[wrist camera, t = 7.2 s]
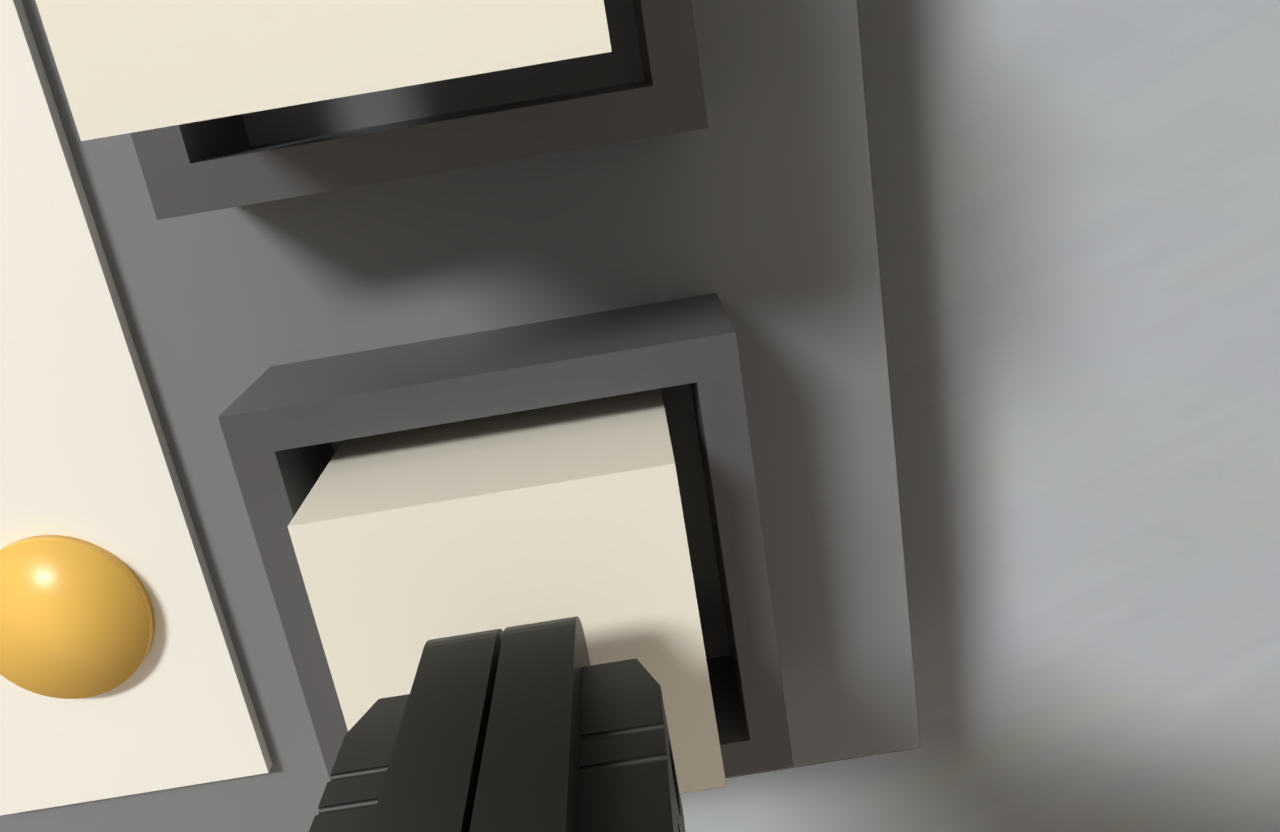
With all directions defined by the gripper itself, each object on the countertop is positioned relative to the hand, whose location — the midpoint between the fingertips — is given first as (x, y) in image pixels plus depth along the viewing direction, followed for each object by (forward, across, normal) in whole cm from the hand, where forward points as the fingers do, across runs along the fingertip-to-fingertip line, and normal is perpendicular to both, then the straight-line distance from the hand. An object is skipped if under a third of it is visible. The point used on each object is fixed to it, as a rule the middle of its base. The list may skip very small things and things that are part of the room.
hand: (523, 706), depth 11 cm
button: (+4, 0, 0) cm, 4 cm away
